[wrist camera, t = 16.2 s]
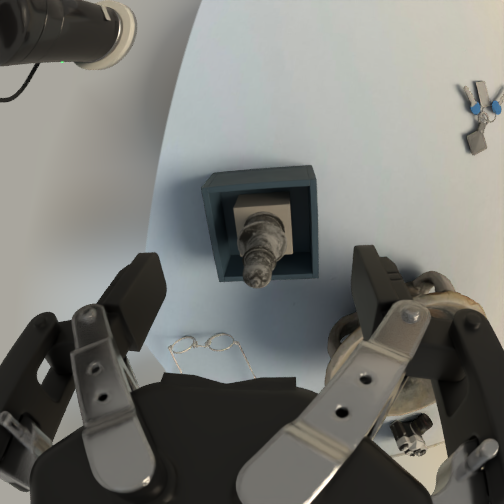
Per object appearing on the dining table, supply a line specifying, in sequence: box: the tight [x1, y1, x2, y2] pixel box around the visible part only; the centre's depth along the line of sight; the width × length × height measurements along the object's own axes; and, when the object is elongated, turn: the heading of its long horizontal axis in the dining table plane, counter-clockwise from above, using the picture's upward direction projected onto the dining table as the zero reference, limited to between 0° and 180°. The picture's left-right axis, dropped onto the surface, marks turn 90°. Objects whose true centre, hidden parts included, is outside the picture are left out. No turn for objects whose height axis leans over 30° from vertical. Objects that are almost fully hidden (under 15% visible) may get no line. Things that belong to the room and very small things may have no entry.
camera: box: [390, 414, 433, 456], centre depth 67 cm, size 15×11×10 cm
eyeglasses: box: [168, 333, 257, 379], centre depth 60 cm, size 16×19×5 cm
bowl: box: [325, 271, 486, 416], centre depth 44 cm, size 27×26×15 cm
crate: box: [201, 165, 319, 282], centre depth 42 cm, size 14×14×7 cm
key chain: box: [463, 81, 504, 155], centre depth 32 cm, size 14×8×1 cm, turn 160°
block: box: [233, 191, 293, 257], centre depth 42 cm, size 7×7×5 cm
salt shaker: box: [237, 212, 287, 288], centre depth 34 cm, size 6×6×12 cm
